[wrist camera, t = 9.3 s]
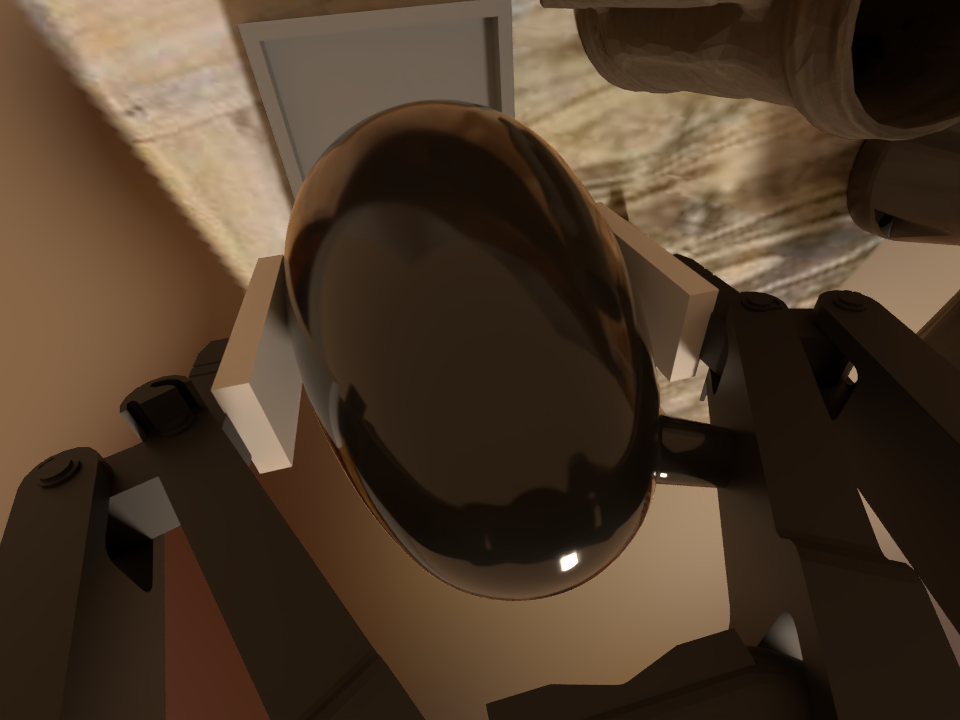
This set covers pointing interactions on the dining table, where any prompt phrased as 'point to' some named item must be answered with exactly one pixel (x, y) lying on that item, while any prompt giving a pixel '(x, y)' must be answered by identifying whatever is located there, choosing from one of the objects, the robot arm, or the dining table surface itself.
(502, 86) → the tray
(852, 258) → the dining table surface
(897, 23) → the beer stein
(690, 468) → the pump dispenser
